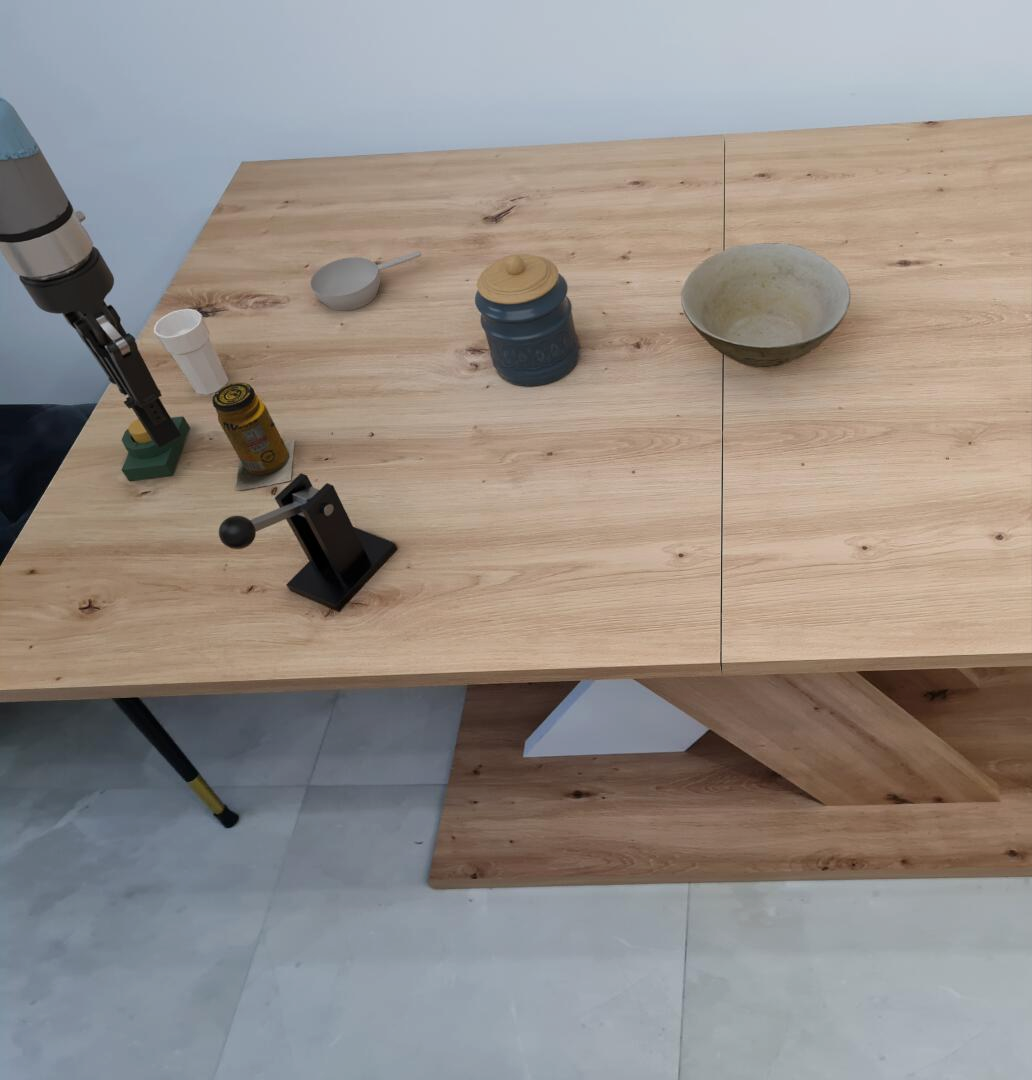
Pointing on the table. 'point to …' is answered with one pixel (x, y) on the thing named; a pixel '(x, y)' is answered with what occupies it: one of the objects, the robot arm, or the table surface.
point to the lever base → (331, 547)
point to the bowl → (765, 302)
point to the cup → (192, 349)
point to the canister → (527, 319)
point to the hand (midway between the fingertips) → (167, 438)
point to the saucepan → (351, 281)
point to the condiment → (253, 437)
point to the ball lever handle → (260, 521)
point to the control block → (153, 455)
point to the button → (139, 432)
